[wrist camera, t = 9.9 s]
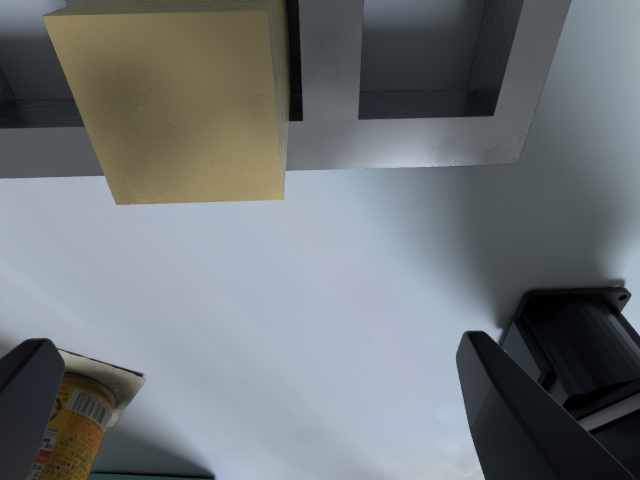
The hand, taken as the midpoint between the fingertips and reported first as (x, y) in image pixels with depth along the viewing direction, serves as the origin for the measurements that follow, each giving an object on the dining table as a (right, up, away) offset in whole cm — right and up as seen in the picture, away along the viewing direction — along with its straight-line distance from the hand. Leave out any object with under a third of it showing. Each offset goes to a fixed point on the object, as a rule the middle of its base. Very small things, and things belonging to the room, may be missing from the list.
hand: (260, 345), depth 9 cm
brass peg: (-2, +10, +7) cm, 12 cm away
